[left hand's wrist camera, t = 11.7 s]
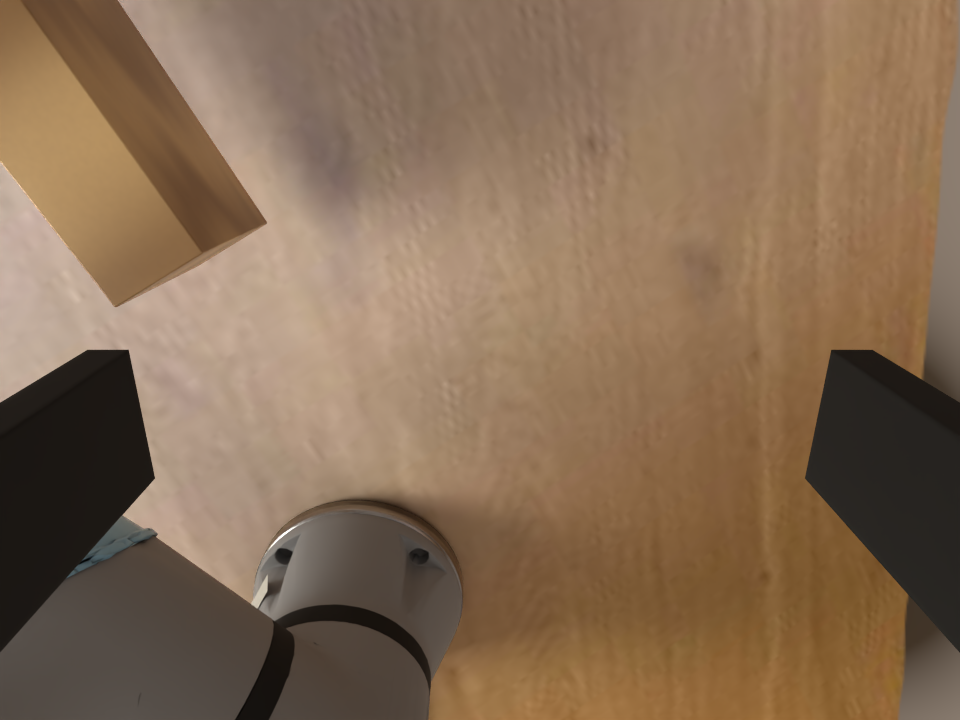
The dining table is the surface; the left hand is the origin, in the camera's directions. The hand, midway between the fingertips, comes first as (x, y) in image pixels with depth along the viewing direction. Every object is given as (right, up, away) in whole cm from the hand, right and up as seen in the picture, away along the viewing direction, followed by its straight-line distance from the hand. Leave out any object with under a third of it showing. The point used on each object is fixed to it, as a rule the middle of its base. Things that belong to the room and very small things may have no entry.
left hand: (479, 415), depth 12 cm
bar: (-20, +17, +21) cm, 33 cm away
